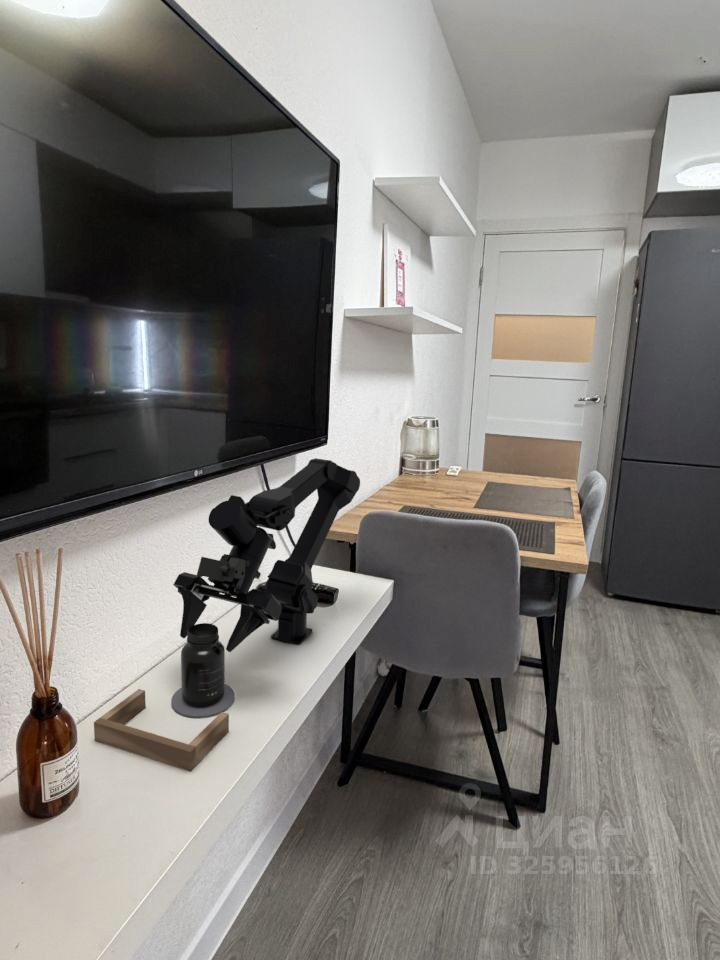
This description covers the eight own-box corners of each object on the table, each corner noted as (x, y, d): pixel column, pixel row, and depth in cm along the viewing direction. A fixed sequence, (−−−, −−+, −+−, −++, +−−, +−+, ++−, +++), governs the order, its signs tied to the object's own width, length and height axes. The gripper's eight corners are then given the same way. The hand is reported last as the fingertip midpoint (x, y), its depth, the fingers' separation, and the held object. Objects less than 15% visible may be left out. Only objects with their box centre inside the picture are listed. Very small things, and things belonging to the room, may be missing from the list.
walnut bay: (139, 705, 95) (138, 688, 94) (228, 731, 90) (228, 713, 89) (94, 740, 86) (93, 722, 86) (190, 771, 81) (190, 751, 80)
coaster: (195, 678, 104) (195, 675, 104) (246, 691, 100) (246, 688, 100) (158, 709, 94) (158, 706, 94) (212, 724, 91) (212, 721, 91)
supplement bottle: (174, 694, 98) (173, 626, 95) (213, 681, 102) (212, 616, 100) (192, 714, 93) (191, 643, 90) (232, 700, 97) (232, 631, 94)
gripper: (179, 527, 101) (132, 612, 93) (273, 546, 93) (230, 640, 86) (210, 557, 110) (169, 637, 102) (297, 577, 102) (260, 664, 95)
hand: (204, 644), depth 96 cm, fingers open, 9 cm apart
